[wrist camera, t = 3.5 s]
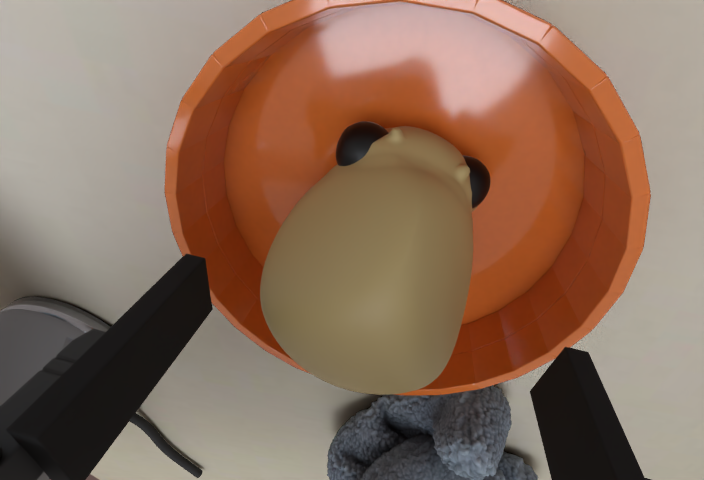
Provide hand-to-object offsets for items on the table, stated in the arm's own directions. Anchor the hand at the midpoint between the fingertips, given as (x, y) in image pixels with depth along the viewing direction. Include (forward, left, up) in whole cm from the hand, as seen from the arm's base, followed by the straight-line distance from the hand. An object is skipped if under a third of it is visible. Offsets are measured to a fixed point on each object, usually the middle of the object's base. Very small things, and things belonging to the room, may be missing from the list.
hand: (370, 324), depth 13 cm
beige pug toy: (0, 0, -9) cm, 9 cm away
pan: (0, 0, -9) cm, 9 cm away
